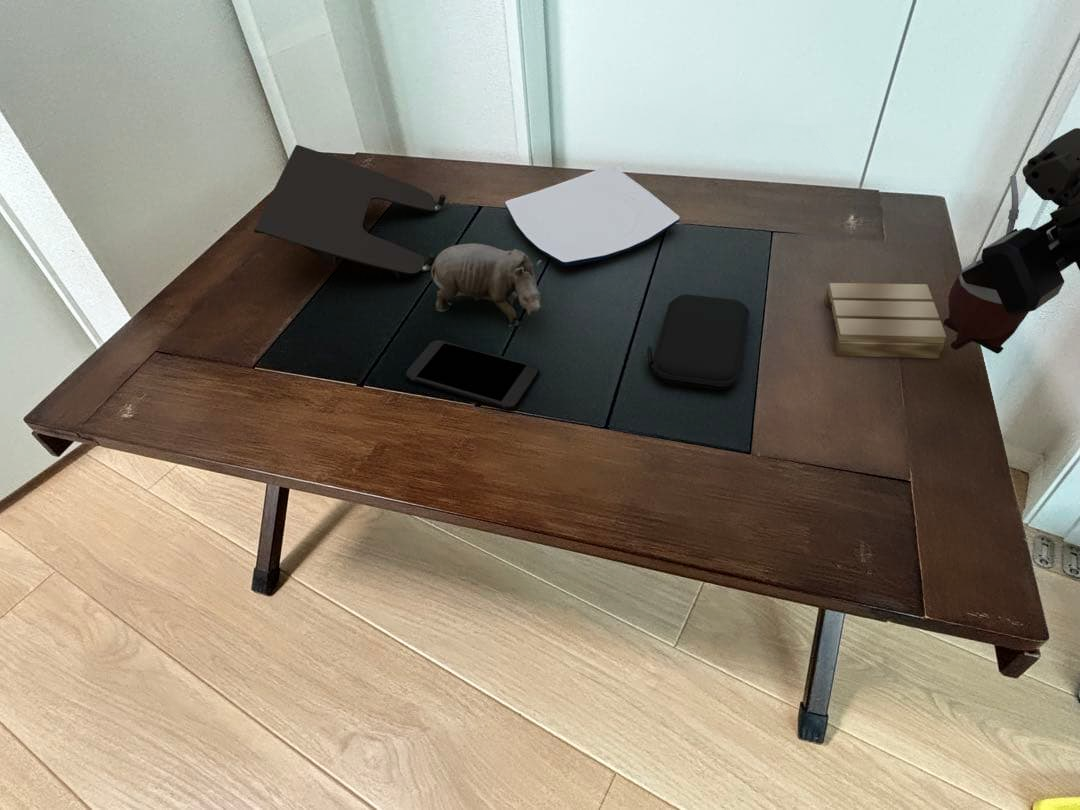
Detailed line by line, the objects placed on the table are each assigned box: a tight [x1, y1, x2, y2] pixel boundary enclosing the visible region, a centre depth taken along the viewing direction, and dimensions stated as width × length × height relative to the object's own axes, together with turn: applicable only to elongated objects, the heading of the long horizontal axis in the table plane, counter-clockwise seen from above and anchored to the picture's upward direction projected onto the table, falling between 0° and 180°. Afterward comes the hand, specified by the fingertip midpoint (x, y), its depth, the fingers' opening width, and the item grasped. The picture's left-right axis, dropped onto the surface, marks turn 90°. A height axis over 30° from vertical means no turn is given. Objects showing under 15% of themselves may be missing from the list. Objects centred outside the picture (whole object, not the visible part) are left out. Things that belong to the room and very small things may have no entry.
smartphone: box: [405, 339, 540, 410], centre depth 84 cm, size 7×15×1 cm, turn 64°
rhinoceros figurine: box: [430, 242, 543, 328], centre depth 90 cm, size 8×14×15 cm
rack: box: [823, 282, 947, 360], centre depth 83 cm, size 11×10×3 cm
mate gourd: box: [943, 175, 1030, 355], centre depth 69 cm, size 8×8×15 cm
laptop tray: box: [253, 144, 447, 279], centre depth 104 cm, size 23×23×9 cm
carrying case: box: [646, 293, 750, 391], centre depth 83 cm, size 11×3×15 cm
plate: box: [504, 164, 681, 267], centre depth 103 cm, size 20×20×3 cm
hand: (982, 265), depth 70 cm, fingers closed on mate gourd, 5 cm apart
